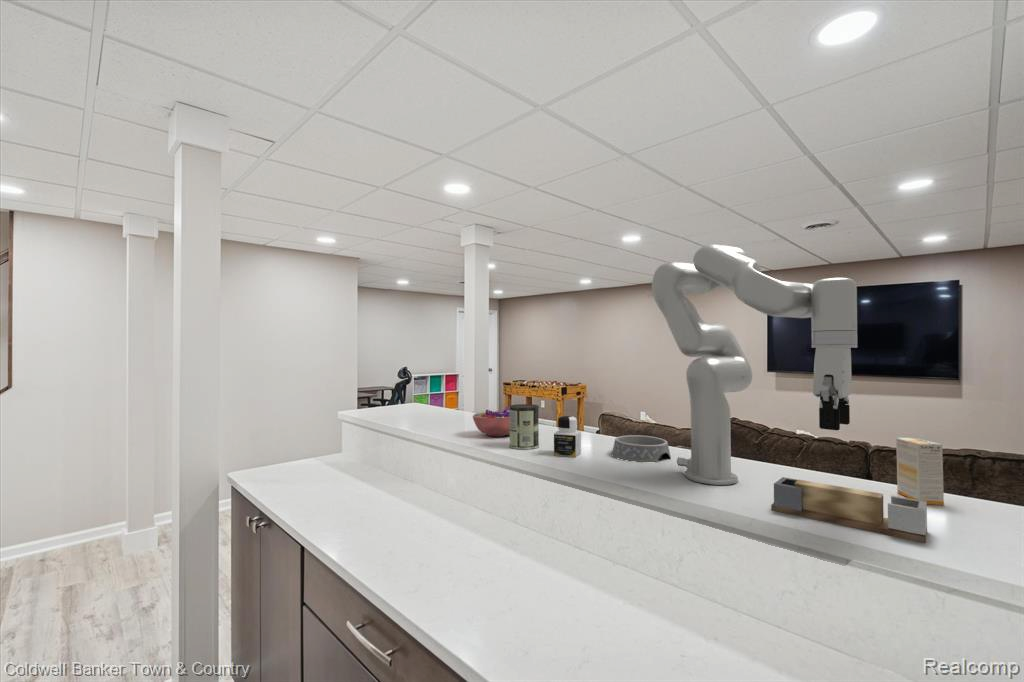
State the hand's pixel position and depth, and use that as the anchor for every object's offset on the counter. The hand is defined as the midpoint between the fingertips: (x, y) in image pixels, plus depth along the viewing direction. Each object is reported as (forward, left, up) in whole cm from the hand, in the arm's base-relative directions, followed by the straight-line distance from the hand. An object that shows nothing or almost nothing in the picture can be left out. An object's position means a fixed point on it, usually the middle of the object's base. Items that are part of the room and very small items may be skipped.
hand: (834, 426), depth 92 cm
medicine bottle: (-73, +8, -18) cm, 75 cm away
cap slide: (+11, 0, -17) cm, 20 cm away
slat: (0, 0, -17) cm, 17 cm away
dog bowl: (-55, +23, -19) cm, 62 cm away
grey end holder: (-8, 0, -17) cm, 19 cm away
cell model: (-112, +15, -18) cm, 114 cm away
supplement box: (+11, +27, -18) cm, 35 cm away
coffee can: (-91, +7, -18) cm, 93 cm away
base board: (+1, 0, -18) cm, 18 cm away
